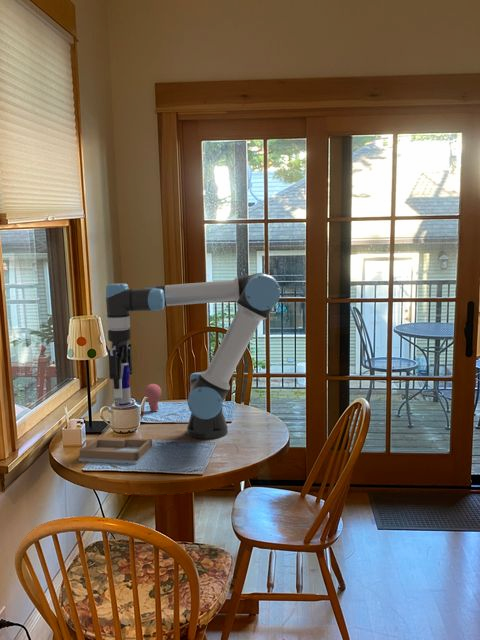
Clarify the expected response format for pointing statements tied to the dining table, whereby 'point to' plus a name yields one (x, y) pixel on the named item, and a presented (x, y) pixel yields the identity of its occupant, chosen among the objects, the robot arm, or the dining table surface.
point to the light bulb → (153, 396)
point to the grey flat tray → (116, 450)
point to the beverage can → (124, 388)
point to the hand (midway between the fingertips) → (122, 395)
